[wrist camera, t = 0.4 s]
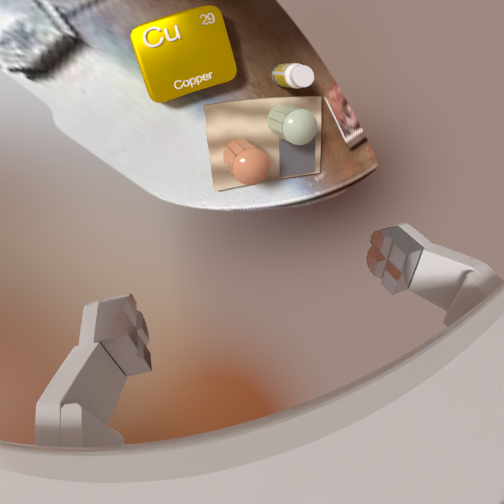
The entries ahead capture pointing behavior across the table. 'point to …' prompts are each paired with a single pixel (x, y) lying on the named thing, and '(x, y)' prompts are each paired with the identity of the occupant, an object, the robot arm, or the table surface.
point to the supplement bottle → (292, 75)
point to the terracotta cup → (246, 161)
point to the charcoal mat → (296, 158)
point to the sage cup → (292, 123)
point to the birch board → (252, 133)
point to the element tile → (183, 52)
